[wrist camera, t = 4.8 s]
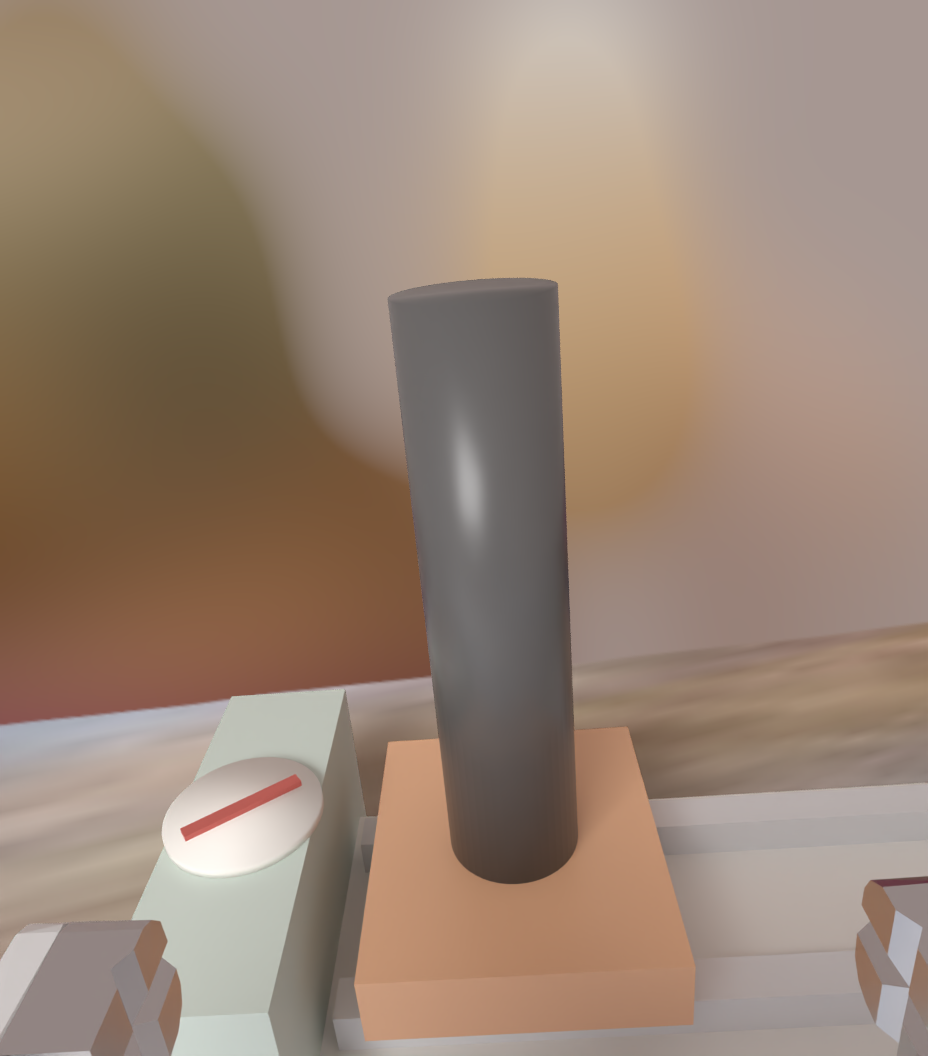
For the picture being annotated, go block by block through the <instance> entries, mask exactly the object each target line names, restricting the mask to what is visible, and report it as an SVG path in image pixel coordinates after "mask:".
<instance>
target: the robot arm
mask: <svg viewBox="0 0 928 1056" xmlns="http://www.w3.org/2000/svg"><path fill="white" fill-rule="evenodd" d="M861 905H862V907H863V909H864V911H865V913H866V914H867V916H868V918H869V920H870V922H869V923H868V924H866V925H865V926H864V927H863V928H862V929H861V930H860V931H859V932H858V933H857V939H856V949H855V960H856V967H857V974H858V981H859V984H860V987H861V990H862V993H863V996H864V999H865V1002H866V1005H867V1007H868V1009H869V1011H870V1013H871V1016H872V1018H873V1020H874V1022H875V1024H876V1025H877V1026H878V1027H879V1028H880V1029H882V1030H883V1031H884V1032H885V1033H887V1034H888V1035H889V1036H890V1037H892V1038H893V1039H894V1040H895V1041H897V1042H898V1043H899V1045H898V1051H897V1056H928V876H923V877H908V878H893V879H878V880H870V881H869V882H868V884H867V885H866V886H865V888H864V893H863V899H862V904H861ZM167 942H168V940H167V938H166V935H165V932H164V930H163V927H162V924H161V921H156V920H128V921H89V922H69V923H40V924H28V925H27V926H26V927H25V928H23V929H22V930H21V931H20V932H19V933H17V934H16V935H15V937H14V938H13V940H12V941H11V943H10V945H9V947H8V948H7V950H6V952H5V953H4V955H3V957H2V958H1V960H0V1056H171V1054H172V1051H173V1048H174V1045H175V1041H176V1038H177V1035H178V1032H179V1024H180V1017H181V1009H182V994H181V983H180V979H179V976H178V973H177V969H176V968H175V967H174V966H172V965H171V964H170V963H169V962H167V961H166V960H165V959H163V958H162V955H163V953H164V950H165V947H166V945H167Z"/></svg>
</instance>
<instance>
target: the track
mask: <svg viewBox="0 0 928 1056" xmlns="http://www.w3.org/2000/svg"><path fill="white" fill-rule="evenodd" d="M648 800H649V804H650V807H651V811H652V814H653V818H654V821H655V825H656V828H657V832H658V835H659V839H660V843H661V846H662V850H663V853H664V857H665V860H666V864H667V867H668V871H669V874H670V878H671V881H672V885H673V888H674V892H675V895H676V899H677V902H678V906H679V909H680V913H681V917H682V920H683V924H684V927H685V931H686V934H687V938H688V941H689V945H690V948H691V952H692V955H693V959H694V962H695V966H696V971H695V996H694V1021H693V1025H678V1026H659V1027H639V1028H619V1029H599V1030H579V1031H559V1032H539V1033H519V1034H499V1035H479V1036H459V1037H440V1038H420V1039H400V1040H380V1041H365V1038H364V1033H363V1028H362V1023H361V1018H360V1013H359V1008H358V1003H357V997H356V992H355V987H354V981H355V974H356V967H357V960H358V953H359V946H360V939H361V932H362V924H363V917H364V910H365V903H366V896H367V889H368V882H369V875H370V868H371V861H372V854H373V847H374V839H375V832H376V825H377V818H378V816H368V817H366V811H365V805H364V799H363V793H362V787H361V781H360V775H359V769H358V763H357V757H356V751H355V745H354V739H353V733H352V727H351V721H350V715H349V709H348V703H347V697H346V691H345V689H339V690H324V691H309V692H294V693H279V694H264V695H249V696H234V697H231V699H230V701H229V703H228V706H227V708H226V710H225V712H224V715H223V717H222V719H221V721H220V723H219V726H218V728H217V730H216V732H215V735H214V737H213V739H212V741H211V743H210V746H209V748H208V750H207V752H206V755H205V757H204V759H203V761H202V764H201V766H200V768H199V770H198V772H197V775H196V777H195V779H194V781H193V783H192V784H191V785H189V786H188V787H187V788H186V789H185V790H184V791H182V792H181V793H180V795H179V796H178V797H177V798H176V799H175V800H174V802H173V803H172V804H171V806H170V807H169V809H168V811H167V813H166V815H165V818H164V820H163V825H162V838H163V843H164V848H163V850H162V852H161V855H160V857H159V859H158V861H157V864H156V866H155V868H154V870H153V872H152V875H151V877H150V879H149V881H148V884H147V886H146V888H145V890H144V892H143V895H142V897H141V899H140V901H139V904H138V906H137V908H136V910H135V913H134V915H133V917H132V919H131V920H156V921H161V924H162V927H163V930H164V932H165V935H166V938H167V940H168V942H167V945H166V947H165V950H164V953H163V955H162V958H163V959H165V960H166V961H167V962H169V963H170V964H171V965H172V966H174V967H175V968H176V969H177V973H178V976H179V979H180V983H181V994H182V1009H181V1017H180V1024H179V1032H178V1035H177V1038H176V1041H175V1045H174V1048H173V1051H172V1054H171V1056H897V1051H898V1045H899V1043H898V1042H897V1041H895V1040H894V1039H893V1038H892V1037H890V1036H889V1035H888V1034H887V1033H885V1032H884V1031H883V1030H882V1029H880V1028H879V1027H878V1026H877V1025H876V1024H875V1022H874V1020H873V1018H872V1016H871V1013H870V1011H869V1009H868V1007H867V1005H866V1002H865V999H864V996H863V993H862V990H861V987H860V984H859V981H858V974H857V967H856V960H855V949H856V939H857V933H858V932H859V931H860V930H861V929H862V928H863V927H864V926H865V925H866V924H868V923H869V922H870V920H869V918H868V916H867V914H866V913H865V911H864V909H863V907H862V905H861V904H862V899H863V893H864V888H865V886H866V885H867V884H868V882H869V881H870V880H878V879H893V878H908V877H923V876H928V783H911V784H895V785H878V786H862V787H845V788H829V789H812V790H796V791H779V792H763V793H747V794H730V795H714V796H697V797H681V798H664V799H648Z"/></svg>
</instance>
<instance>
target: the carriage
mask: <svg viewBox="0 0 928 1056" xmlns="http://www.w3.org/2000/svg"><path fill="white" fill-rule="evenodd" d="M388 306H389V315H390V323H391V332H392V341H393V349H394V358H395V366H396V374H397V383H398V392H399V401H400V409H401V418H402V426H403V435H404V443H405V452H406V460H407V469H408V478H409V486H410V495H411V503H412V512H413V520H414V529H415V536H416V537H415V538H416V546H417V554H418V563H419V571H420V580H421V589H422V598H423V606H424V614H425V623H426V632H427V640H428V649H429V657H430V666H431V675H432V683H433V692H434V701H435V709H436V718H437V726H438V735H439V739H425V740H409V741H394V742H388V747H387V754H386V761H385V769H384V776H383V783H382V790H381V797H380V804H379V811H378V818H377V825H376V832H375V839H374V847H373V854H372V861H371V868H370V875H369V882H368V889H367V896H366V903H365V910H364V917H363V924H362V932H361V939H360V946H359V953H358V960H357V967H356V974H355V981H354V987H355V992H356V997H357V1003H358V1008H359V1013H360V1018H361V1023H362V1028H363V1033H364V1038H365V1041H380V1040H400V1039H420V1038H440V1037H459V1036H479V1035H499V1034H519V1033H539V1032H559V1031H579V1030H599V1029H619V1028H639V1027H659V1026H678V1025H693V1021H694V996H695V971H696V966H695V962H694V959H693V955H692V952H691V948H690V945H689V941H688V938H687V934H686V931H685V927H684V924H683V920H682V917H681V913H680V909H679V906H678V902H677V899H676V895H675V892H674V888H673V885H672V881H671V878H670V874H669V871H668V867H667V864H666V860H665V857H664V853H663V850H662V846H661V843H660V839H659V835H658V832H657V828H656V825H655V821H654V818H653V814H652V811H651V807H650V804H649V800H648V797H647V793H646V790H645V786H644V783H643V779H642V776H641V772H640V768H639V765H638V761H637V758H636V754H635V751H634V747H633V744H632V740H631V737H630V733H629V730H628V727H612V728H597V729H581V730H574V715H573V688H572V661H571V635H570V634H571V633H570V607H569V578H568V553H567V525H566V498H565V469H564V442H563V414H562V387H561V360H560V332H559V306H558V284H557V283H556V282H554V281H551V280H546V279H536V278H535V279H534V278H497V279H496V278H495V279H478V280H467V281H457V282H448V283H441V284H434V285H428V286H422V287H417V288H412V289H408V290H404V291H401V292H398V293H395V294H392V295H391V296H389V297H388Z"/></svg>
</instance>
